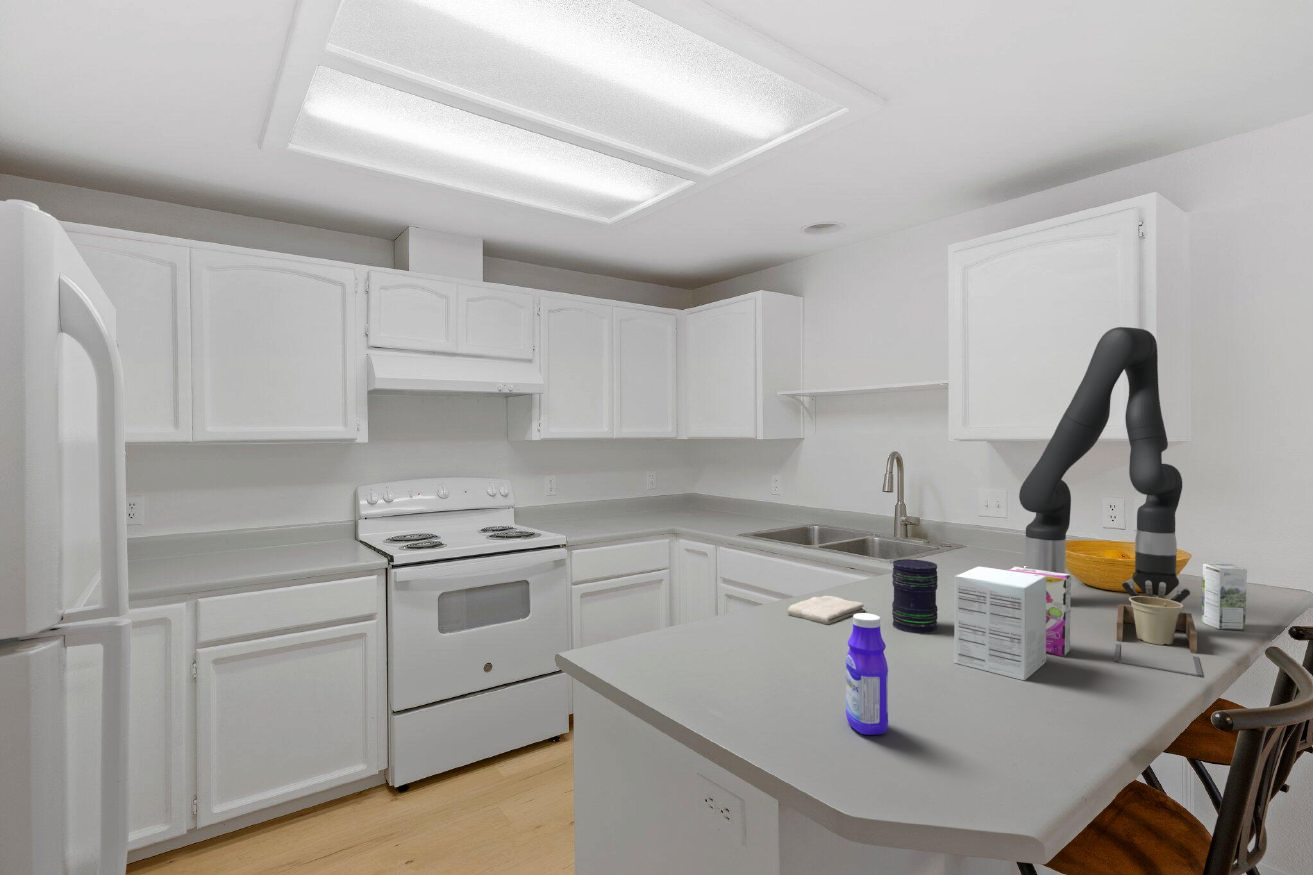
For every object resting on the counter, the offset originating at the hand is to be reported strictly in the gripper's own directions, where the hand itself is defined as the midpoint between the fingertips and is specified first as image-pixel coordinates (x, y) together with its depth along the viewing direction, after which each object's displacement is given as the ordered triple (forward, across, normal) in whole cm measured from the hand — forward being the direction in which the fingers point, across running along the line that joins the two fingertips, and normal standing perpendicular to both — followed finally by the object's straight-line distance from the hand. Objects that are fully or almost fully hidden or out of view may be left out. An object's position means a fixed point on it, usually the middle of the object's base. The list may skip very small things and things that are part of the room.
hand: (1154, 625), depth 149 cm
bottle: (+1, -38, -87) cm, 95 cm away
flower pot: (+1, 0, -9) cm, 9 cm away
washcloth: (+2, -66, -31) cm, 73 cm away
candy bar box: (+1, -20, -30) cm, 36 cm away
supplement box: (+1, -25, -44) cm, 51 cm away
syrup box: (+1, +13, +13) cm, 18 cm away
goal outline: (+1, 0, -23) cm, 23 cm away
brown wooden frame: (+1, 0, -5) cm, 5 cm away
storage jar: (+1, -45, -30) cm, 54 cm away
